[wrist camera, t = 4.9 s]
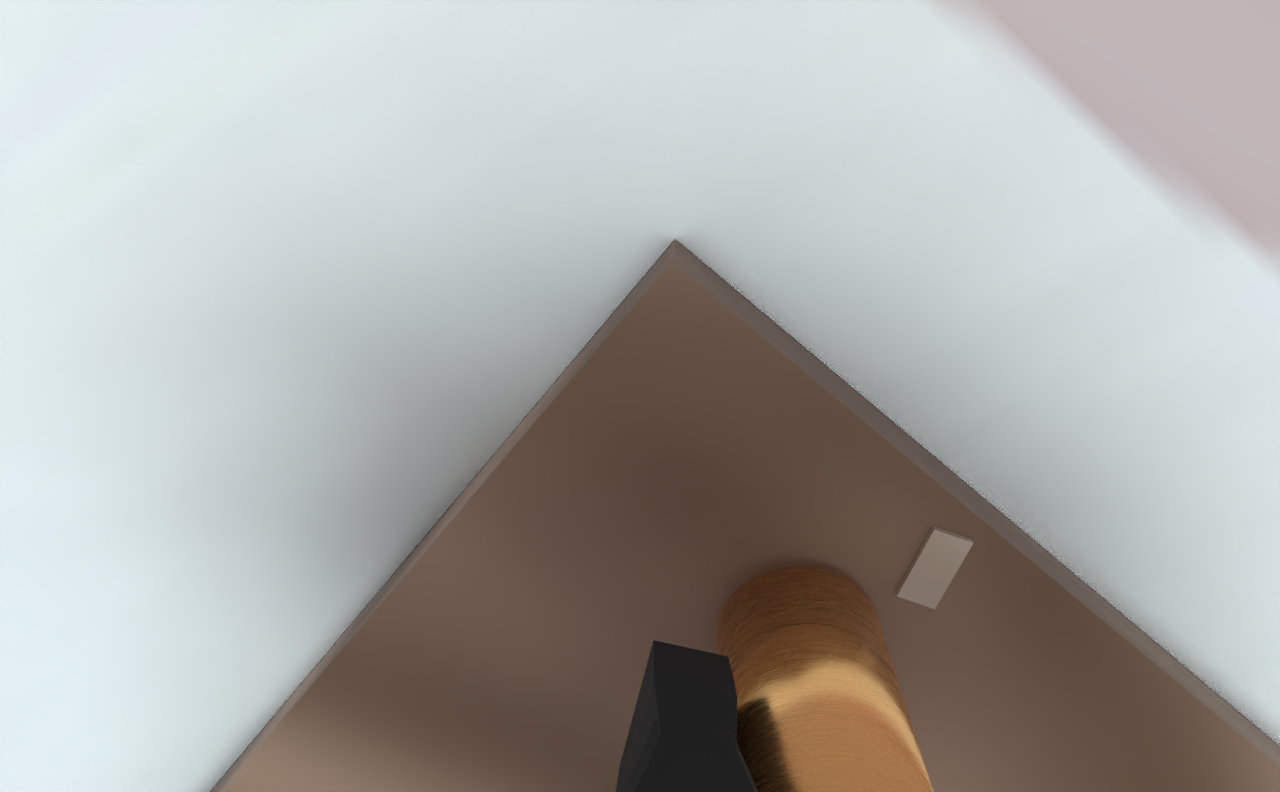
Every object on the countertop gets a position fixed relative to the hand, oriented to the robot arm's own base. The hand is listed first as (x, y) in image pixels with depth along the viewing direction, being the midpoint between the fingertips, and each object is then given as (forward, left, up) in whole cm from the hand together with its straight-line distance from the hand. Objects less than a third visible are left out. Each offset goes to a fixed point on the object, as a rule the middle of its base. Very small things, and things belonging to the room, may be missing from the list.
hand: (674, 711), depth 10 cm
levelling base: (-5, -5, -4) cm, 8 cm away
